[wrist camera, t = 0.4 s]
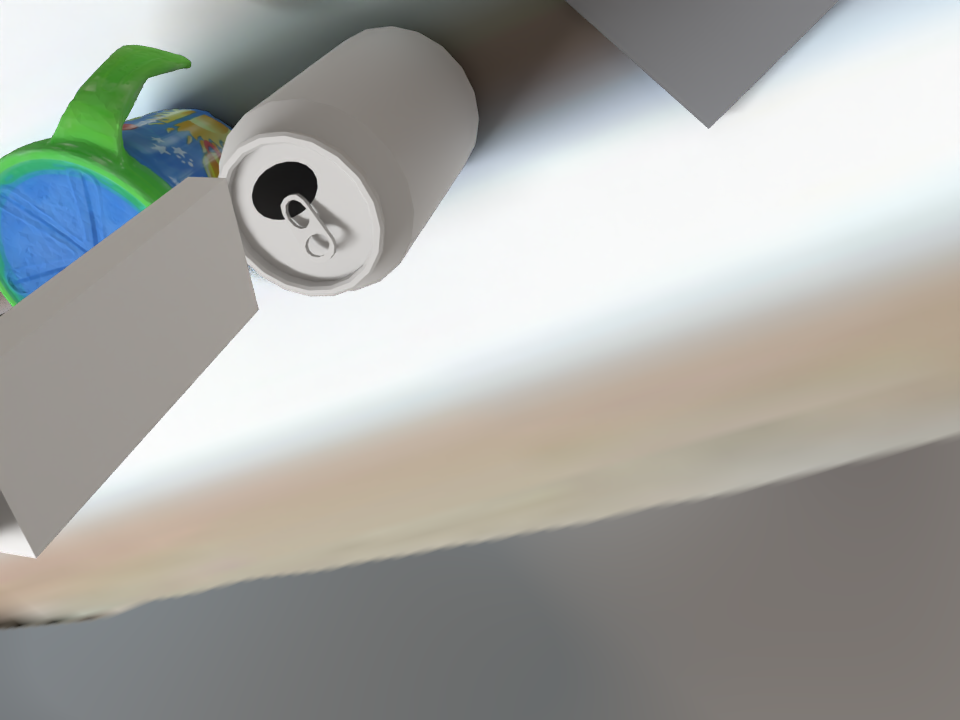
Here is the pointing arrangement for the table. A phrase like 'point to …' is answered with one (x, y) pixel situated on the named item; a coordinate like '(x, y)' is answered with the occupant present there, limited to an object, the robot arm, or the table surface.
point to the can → (349, 161)
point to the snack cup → (98, 169)
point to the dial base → (704, 42)
